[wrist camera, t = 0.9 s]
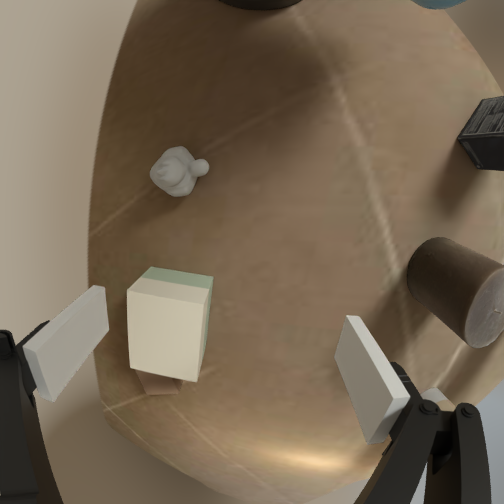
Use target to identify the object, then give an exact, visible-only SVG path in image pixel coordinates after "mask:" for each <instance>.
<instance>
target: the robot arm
mask: <svg viewBox="0 0 504 504" xmlns="http://www.w3.org/2000/svg"><path fill="white" fill-rule="evenodd" d="M220 1H222V2H224V3H226V4H229V5H232V6H235V7H239V8H244V9H253V10H270V9H278V8H283V7H287V6H290V5H293V4H295V3H297V2H299V1H301V0H220ZM412 1H413V2H415V3H416V4H418V5H420V6H422V7H424V8H427V9H446V8H450V7H453V6H455V5H458V4H460V3H462V2H464V1H466V0H412ZM108 331H109V324H108V316H107V306H106V295H105V287H101V286H96V285H93V286H92V287H90V288H89V289H88V290H87V291H85V292H84V293H83V294H82V295H81V296H79V297H78V298H77V299H76V300H75V301H73V302H72V303H71V304H70V305H69V306H68V307H66V308H65V309H64V310H63V311H62V312H60V313H59V314H58V315H57V316H56V317H55V318H54V319H52V320H51V321H49V320H48V321H46V322H44V323H42V324H40V325H39V326H38V327H36V328H35V329H34V331H32V332H31V333H30V334H29V335H27V336H26V337H25V338H24V339H23V340H22V341H21V342H20V343H18V344H17V345H16V346H15V343H14V339H13V336H12V333H11V332H10V331H7V330H0V494H1V495H0V504H63V501H62V498H61V496H60V493H59V490H58V488H57V485H56V482H55V479H54V477H53V473H52V470H51V466H50V463H49V460H48V456H47V453H46V449H45V445H44V441H43V437H42V433H41V429H40V423H39V418H38V413H37V408H36V402H35V397H34V395H33V391H34V390H35V389H36V388H37V390H38V392H39V395H40V397H42V398H44V399H46V400H48V401H51V402H54V401H55V400H56V398H57V397H58V396H59V394H60V393H61V391H62V390H63V389H64V388H65V386H66V385H67V383H68V382H69V381H70V379H71V378H72V377H73V375H74V374H75V373H76V372H77V370H78V369H79V368H80V366H81V365H82V364H83V362H84V361H85V360H86V359H87V357H88V356H89V355H90V353H91V352H92V351H93V350H94V348H95V347H96V346H97V345H98V343H99V342H100V341H101V339H102V338H103V337H104V336H105V335H106V333H107V332H108ZM334 358H335V361H336V363H337V366H338V368H339V371H340V373H341V376H342V378H343V381H344V383H345V386H346V389H347V391H348V394H349V396H350V399H351V402H352V404H353V407H354V410H355V412H356V415H357V418H358V420H359V423H360V426H361V428H362V431H363V434H364V437H365V439H366V442H367V445H369V444H376V443H383V442H384V441H385V439H386V437H387V436H388V434H389V435H390V437H391V439H392V441H391V442H390V444H389V445H388V447H387V448H386V449H385V451H384V452H383V454H382V455H383V457H382V458H381V460H380V462H379V464H378V466H377V467H376V469H375V471H374V472H373V474H372V476H371V478H370V479H369V481H368V482H367V484H366V486H365V487H364V489H363V490H362V492H361V494H360V495H359V497H358V498H357V500H356V501H355V503H354V504H410V502H411V500H412V498H413V495H414V493H415V491H416V488H417V486H418V484H419V481H420V479H421V476H422V473H423V471H424V468H425V465H426V463H427V474H426V486H425V495H424V504H491V485H490V475H489V464H488V457H487V450H486V443H485V437H484V432H483V427H482V421H481V417H480V413H479V411H478V409H477V408H476V407H475V406H474V405H472V404H469V403H460V404H458V405H457V407H456V408H455V410H454V411H442V410H441V409H440V407H439V406H438V405H437V404H436V403H435V402H433V401H431V400H427V399H423V398H422V397H421V395H420V394H419V392H418V390H417V389H416V387H415V386H414V384H413V383H412V382H411V380H410V378H409V377H408V376H407V374H406V372H405V371H404V369H403V368H402V367H401V366H400V365H398V364H397V363H396V362H389V361H388V360H387V358H386V357H385V355H384V353H383V352H382V350H381V349H380V347H379V346H378V344H377V343H376V341H375V340H374V338H373V337H372V335H371V333H370V332H369V330H368V329H367V327H366V326H365V324H364V323H363V321H362V320H361V318H360V317H359V316H349V315H346V318H345V321H344V325H343V328H342V332H341V336H340V339H339V342H338V346H337V349H336V352H335V356H334Z"/></svg>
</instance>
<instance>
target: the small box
mask: <svg viewBox="0 0 504 504" xmlns="http://www.w3.org/2000/svg"><path fill="white" fill-rule="evenodd" d="M458 140H459V142H460V143H461V144H462V146H463V147H464V149H465V150H466V152H467V153H468V155H469V156H470V158H471V160H472V162H473V163H474V165H475V166H476V168H477V169H484V170H498V171H504V96H501V97H495V98H489V99H483V100H482V101H481V102H480V104H479V105H478V107H477V109H476V110H475V112H474V113H473V115H472V116H471V118H470V120H469V121H468V123H467V124H466V126H465V127H464V129H463V130H462V132H461V133H460V135H459V136H458Z"/></svg>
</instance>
